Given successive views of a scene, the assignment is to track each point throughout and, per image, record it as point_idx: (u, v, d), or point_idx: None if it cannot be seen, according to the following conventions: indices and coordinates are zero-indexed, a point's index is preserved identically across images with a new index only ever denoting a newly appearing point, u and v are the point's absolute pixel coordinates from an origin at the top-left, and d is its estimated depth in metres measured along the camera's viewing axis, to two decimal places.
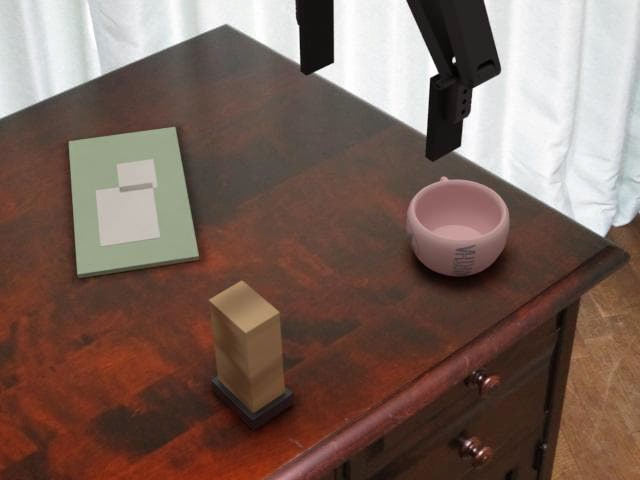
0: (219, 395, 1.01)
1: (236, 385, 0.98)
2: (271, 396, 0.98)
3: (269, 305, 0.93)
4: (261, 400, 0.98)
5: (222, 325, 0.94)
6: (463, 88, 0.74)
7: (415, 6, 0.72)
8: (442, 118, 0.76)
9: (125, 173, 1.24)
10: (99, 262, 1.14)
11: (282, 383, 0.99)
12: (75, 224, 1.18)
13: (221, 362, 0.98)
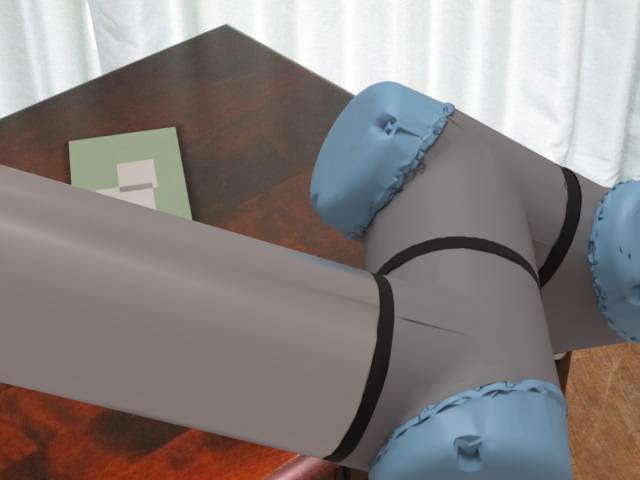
0: None
1: None
2: None
3: None
4: None
5: None
6: None
7: None
8: None
9: (125, 173, 1.24)
10: None
11: None
12: None
13: None
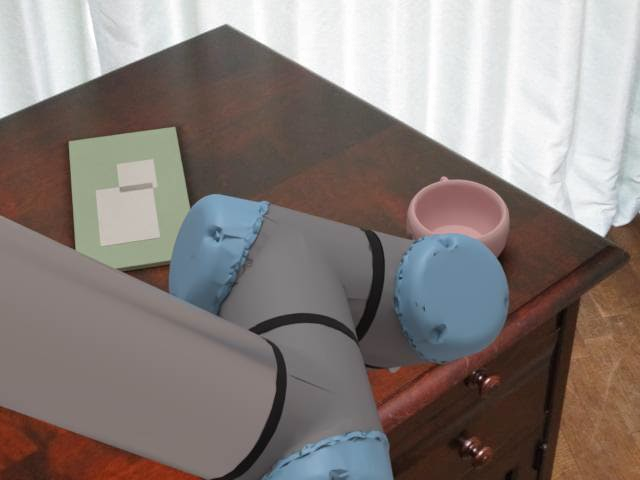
0: None
1: None
2: None
3: None
4: None
5: None
6: None
7: None
8: None
9: (125, 173, 1.24)
10: None
11: None
12: (75, 224, 1.18)
13: None
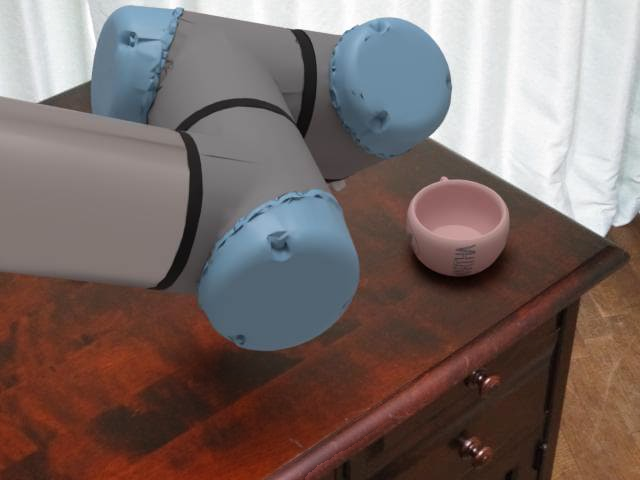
0: None
1: None
2: None
3: None
4: None
5: None
6: None
7: None
8: None
9: None
10: None
11: None
12: None
13: None
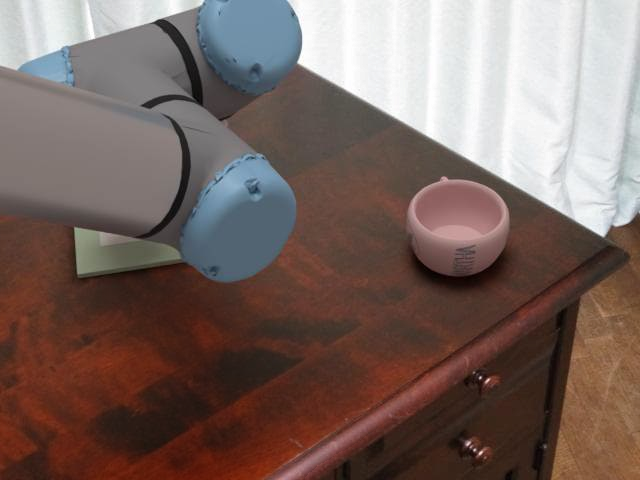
0: None
1: None
2: None
3: None
4: None
5: None
6: None
7: None
8: None
9: None
10: (99, 262, 1.14)
11: None
12: None
13: None
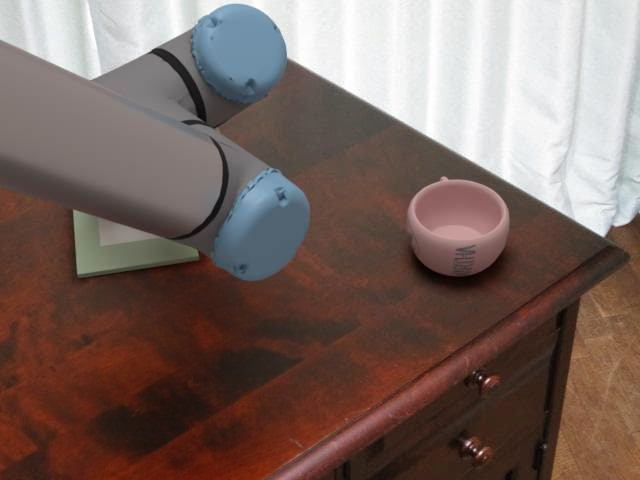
0: None
1: None
2: None
3: None
4: None
5: None
6: None
7: None
8: None
9: None
10: (99, 262, 1.14)
11: None
12: (75, 224, 1.18)
13: None
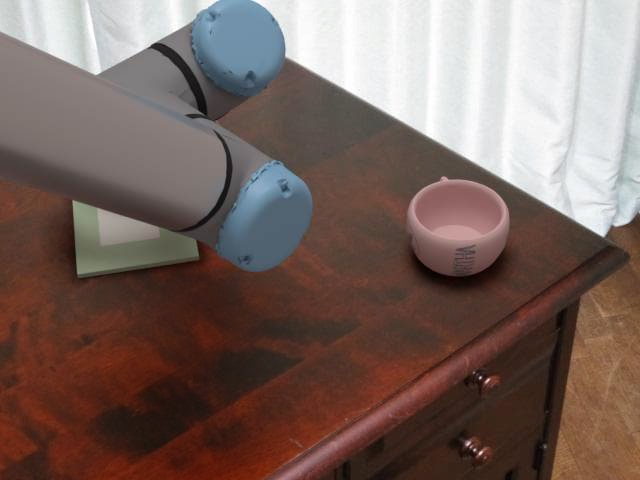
0: None
1: None
2: None
3: None
4: None
5: None
6: None
7: None
8: None
9: None
10: (99, 262, 1.14)
11: None
12: (75, 224, 1.18)
13: None
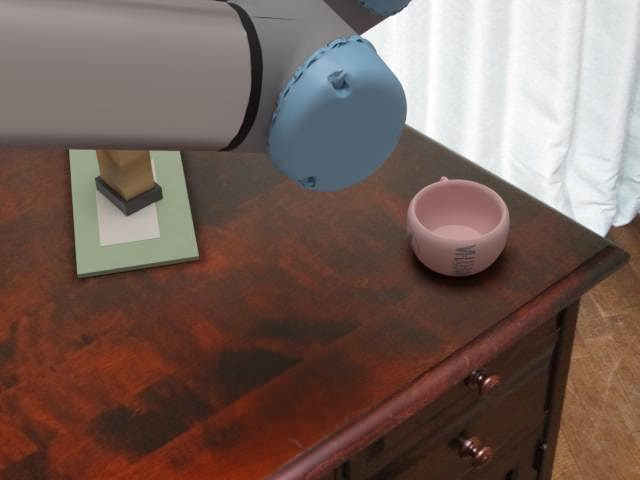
0: (101, 191, 1.21)
1: (112, 177, 1.18)
2: (142, 187, 1.19)
3: None
4: (133, 190, 1.18)
5: None
6: None
7: None
8: None
9: None
10: (99, 262, 1.14)
11: (151, 177, 1.19)
12: (75, 224, 1.18)
13: (100, 159, 1.18)
